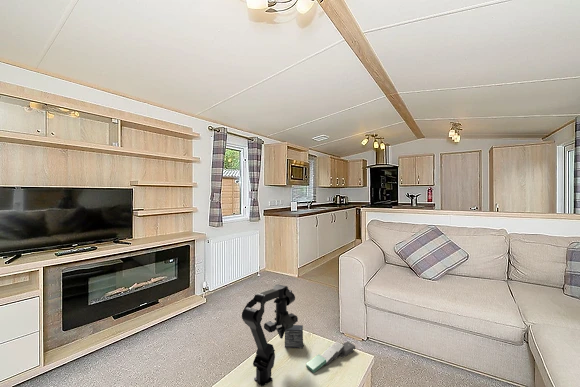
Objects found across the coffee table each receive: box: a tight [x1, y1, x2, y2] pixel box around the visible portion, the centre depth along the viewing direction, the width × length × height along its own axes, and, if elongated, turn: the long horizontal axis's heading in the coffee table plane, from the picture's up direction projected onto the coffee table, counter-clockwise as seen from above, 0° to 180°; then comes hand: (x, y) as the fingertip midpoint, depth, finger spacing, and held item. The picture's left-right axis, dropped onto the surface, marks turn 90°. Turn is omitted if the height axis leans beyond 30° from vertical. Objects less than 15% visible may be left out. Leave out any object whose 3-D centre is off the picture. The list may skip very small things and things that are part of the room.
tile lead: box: [305, 353, 326, 374], centre depth 133 cm, size 2×6×9 cm
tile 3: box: [330, 340, 344, 361], centre depth 142 cm, size 2×6×9 cm
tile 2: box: [320, 345, 338, 366], centre depth 138 cm, size 2×6×9 cm
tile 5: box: [337, 350, 354, 359], centre depth 145 cm, size 2×6×9 cm
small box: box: [284, 324, 304, 349], centre depth 152 cm, size 11×6×10 cm, turn 84°
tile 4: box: [341, 340, 356, 355], centre depth 146 cm, size 2×6×9 cm
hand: (281, 338), depth 137 cm, fingers closed
